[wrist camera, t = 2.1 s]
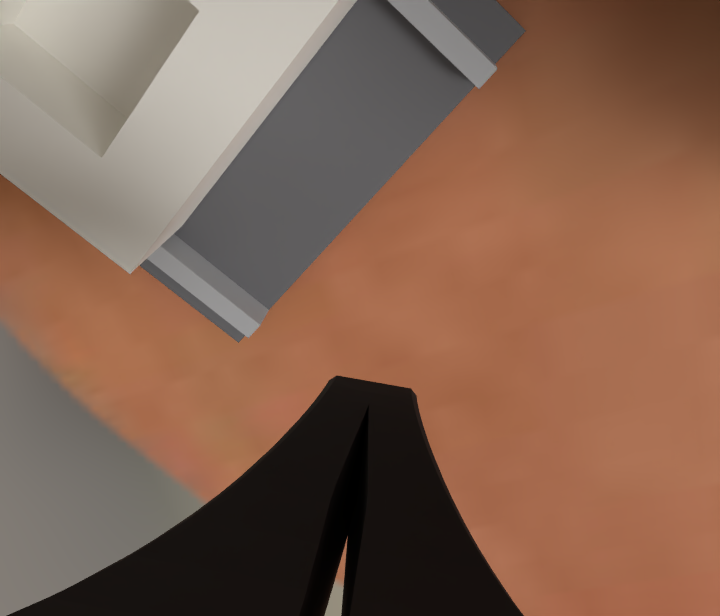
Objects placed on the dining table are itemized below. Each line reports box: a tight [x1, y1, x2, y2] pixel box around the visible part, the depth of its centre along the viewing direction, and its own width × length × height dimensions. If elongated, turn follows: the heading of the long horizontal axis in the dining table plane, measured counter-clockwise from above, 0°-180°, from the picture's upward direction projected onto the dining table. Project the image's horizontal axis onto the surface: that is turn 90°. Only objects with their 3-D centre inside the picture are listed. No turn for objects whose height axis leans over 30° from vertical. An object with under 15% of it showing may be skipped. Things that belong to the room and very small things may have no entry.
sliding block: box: [0, 0, 357, 274], centre depth 15 cm, size 8×8×4 cm
